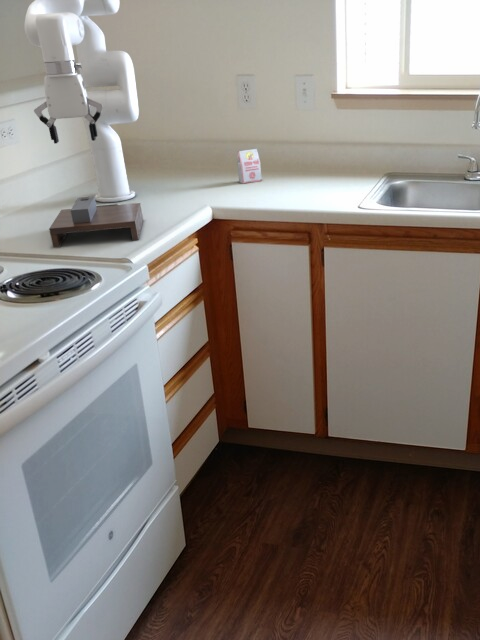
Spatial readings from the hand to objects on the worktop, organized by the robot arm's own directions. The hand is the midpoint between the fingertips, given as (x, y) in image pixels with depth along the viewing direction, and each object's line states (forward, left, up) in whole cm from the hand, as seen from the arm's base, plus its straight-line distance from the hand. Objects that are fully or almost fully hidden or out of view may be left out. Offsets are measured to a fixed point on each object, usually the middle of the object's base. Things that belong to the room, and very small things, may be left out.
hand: (75, 141), depth 199 cm
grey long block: (+4, -1, -19) cm, 19 cm away
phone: (-16, +1, -24) cm, 29 cm away
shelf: (+4, +2, -24) cm, 24 cm away
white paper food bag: (-46, +46, -24) cm, 69 cm away
